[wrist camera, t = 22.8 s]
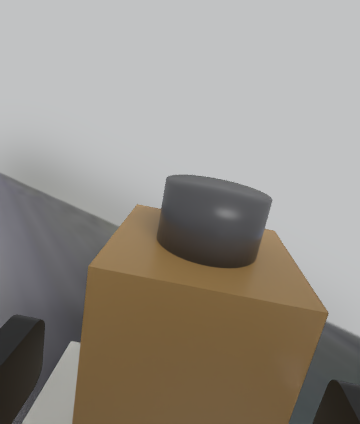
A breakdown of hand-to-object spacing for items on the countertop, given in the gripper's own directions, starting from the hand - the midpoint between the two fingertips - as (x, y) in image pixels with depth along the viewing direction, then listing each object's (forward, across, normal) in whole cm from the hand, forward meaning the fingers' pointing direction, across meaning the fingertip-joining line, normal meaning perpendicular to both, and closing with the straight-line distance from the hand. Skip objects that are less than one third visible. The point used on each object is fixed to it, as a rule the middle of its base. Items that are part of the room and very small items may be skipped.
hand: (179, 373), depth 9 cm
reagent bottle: (0, 0, +7) cm, 7 cm away
